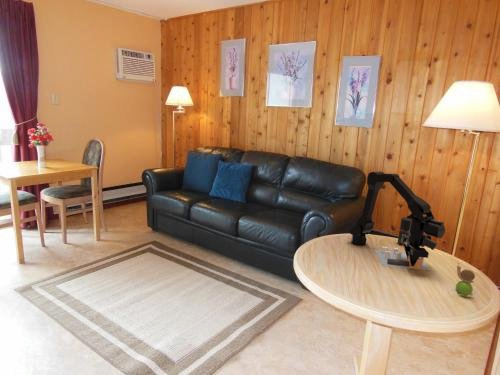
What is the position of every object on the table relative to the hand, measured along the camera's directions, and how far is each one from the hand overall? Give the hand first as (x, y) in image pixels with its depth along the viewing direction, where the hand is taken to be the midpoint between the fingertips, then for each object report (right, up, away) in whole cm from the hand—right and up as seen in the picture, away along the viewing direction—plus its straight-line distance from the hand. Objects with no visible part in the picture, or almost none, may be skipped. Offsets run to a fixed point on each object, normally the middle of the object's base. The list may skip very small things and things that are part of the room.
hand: (410, 263), depth 150 cm
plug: (-3, -1, +1) cm, 3 cm away
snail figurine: (+10, -7, -19) cm, 23 cm away
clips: (-4, +2, +10) cm, 11 cm away
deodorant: (+9, +3, +26) cm, 28 cm away
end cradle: (+7, 0, +9) cm, 11 cm away
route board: (-2, -1, +7) cm, 7 cm away
